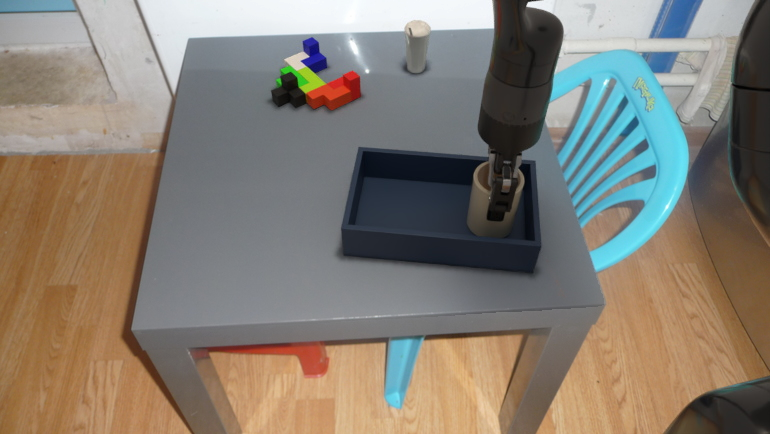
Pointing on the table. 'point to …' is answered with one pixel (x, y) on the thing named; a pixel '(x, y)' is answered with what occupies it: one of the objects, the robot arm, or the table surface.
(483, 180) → the cup
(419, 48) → the milkshake
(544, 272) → the table surface
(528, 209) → the navy tray
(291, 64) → the building blocks
